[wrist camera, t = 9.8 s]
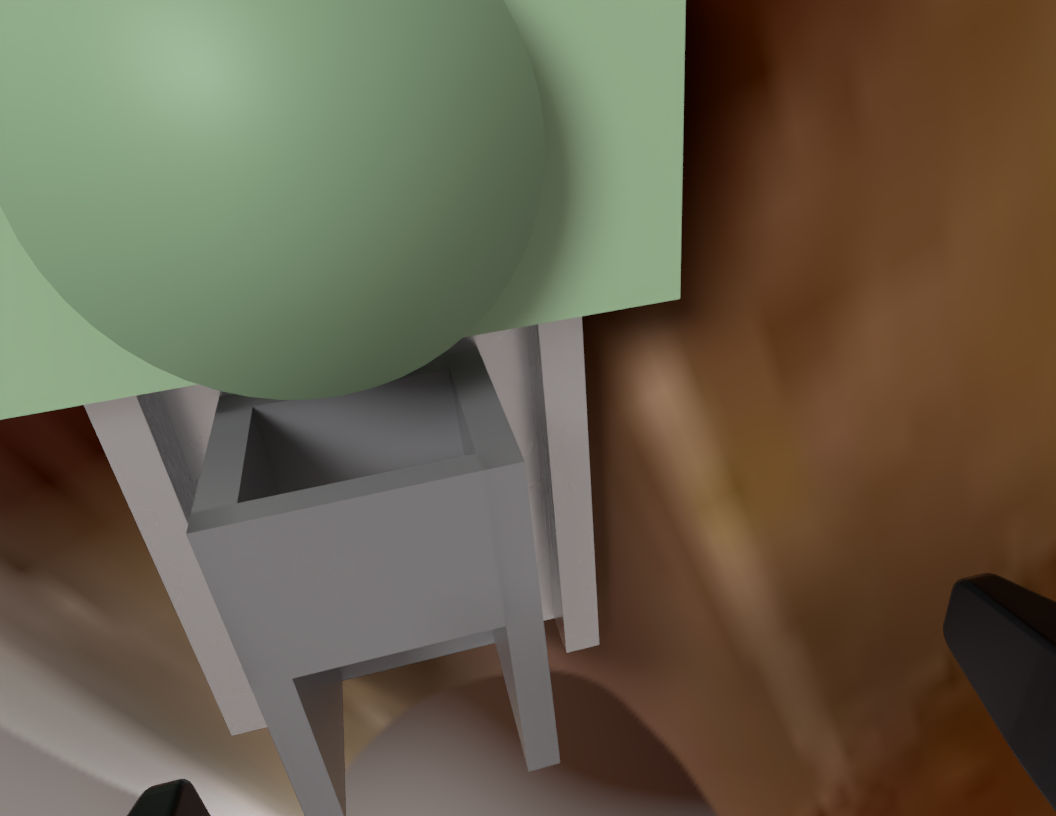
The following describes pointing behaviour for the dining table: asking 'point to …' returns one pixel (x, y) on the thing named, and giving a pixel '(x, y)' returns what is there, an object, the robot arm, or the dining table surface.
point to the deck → (329, 231)
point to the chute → (371, 553)
